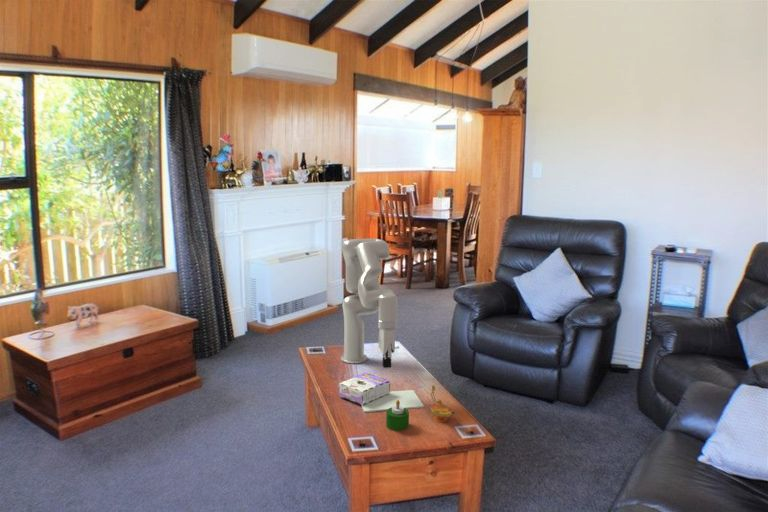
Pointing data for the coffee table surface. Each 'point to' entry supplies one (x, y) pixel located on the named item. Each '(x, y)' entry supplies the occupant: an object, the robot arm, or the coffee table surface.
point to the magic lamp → (440, 409)
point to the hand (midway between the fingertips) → (386, 367)
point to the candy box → (364, 388)
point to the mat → (394, 401)
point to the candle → (397, 418)
